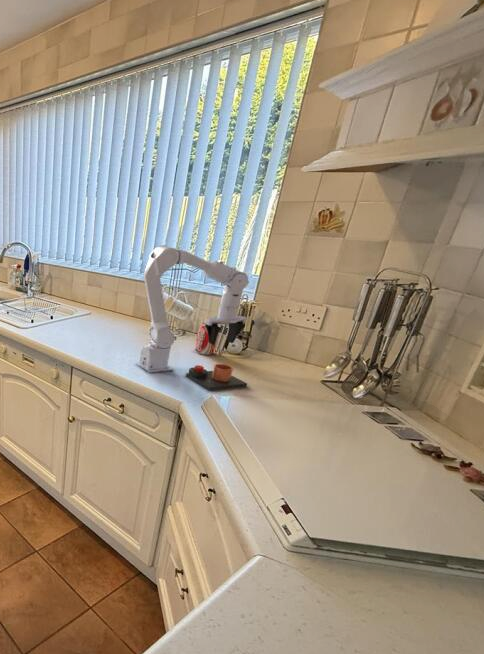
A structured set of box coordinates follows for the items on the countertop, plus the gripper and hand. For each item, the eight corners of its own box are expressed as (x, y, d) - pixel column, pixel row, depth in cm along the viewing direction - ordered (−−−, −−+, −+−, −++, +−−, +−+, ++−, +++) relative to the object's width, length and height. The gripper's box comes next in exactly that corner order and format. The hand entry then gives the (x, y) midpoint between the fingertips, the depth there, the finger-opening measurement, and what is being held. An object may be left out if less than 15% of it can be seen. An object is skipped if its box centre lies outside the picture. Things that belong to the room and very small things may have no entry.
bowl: (219, 383, 132) (222, 370, 130) (208, 376, 137) (210, 364, 135) (233, 381, 133) (236, 369, 131) (221, 375, 137) (224, 363, 136)
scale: (209, 391, 129) (211, 382, 128) (184, 375, 141) (185, 368, 140) (246, 387, 132) (248, 379, 130) (218, 372, 143) (220, 364, 142)
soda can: (212, 356, 157) (218, 328, 153) (192, 353, 161) (198, 325, 157) (215, 351, 163) (221, 324, 158) (196, 348, 167) (202, 321, 162)
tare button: (197, 373, 136) (198, 368, 136) (192, 370, 139) (193, 365, 138) (204, 372, 137) (205, 368, 136) (199, 369, 139) (200, 365, 139)
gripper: (219, 309, 132) (210, 348, 137) (256, 307, 134) (247, 344, 139) (204, 305, 138) (197, 341, 143) (240, 302, 141) (232, 338, 146)
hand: (220, 342), depth 142 cm, fingers open, 7 cm apart
